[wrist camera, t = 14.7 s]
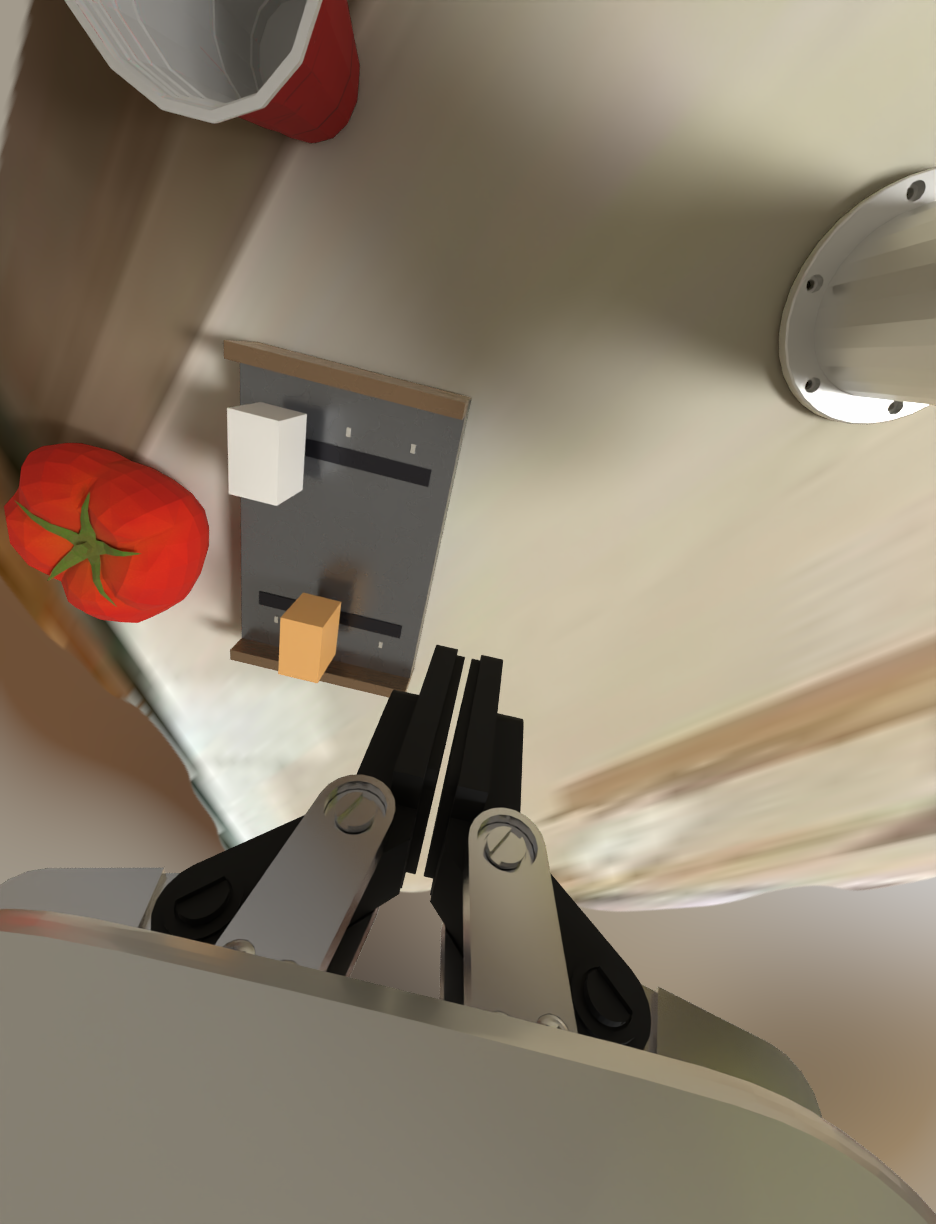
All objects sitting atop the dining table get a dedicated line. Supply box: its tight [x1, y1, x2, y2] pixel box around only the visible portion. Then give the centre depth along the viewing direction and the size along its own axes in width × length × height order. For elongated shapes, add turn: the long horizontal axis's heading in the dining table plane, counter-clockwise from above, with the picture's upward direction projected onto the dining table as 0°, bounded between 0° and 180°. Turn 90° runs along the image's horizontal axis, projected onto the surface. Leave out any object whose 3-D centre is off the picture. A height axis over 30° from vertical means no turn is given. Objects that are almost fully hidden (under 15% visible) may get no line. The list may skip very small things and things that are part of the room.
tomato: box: [4, 443, 209, 623], centre depth 35 cm, size 14×13×9 cm
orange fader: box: [278, 593, 341, 683], centre depth 36 cm, size 3×5×5 cm, turn 167°
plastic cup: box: [64, 0, 360, 143], centre depth 21 cm, size 11×11×12 cm
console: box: [224, 340, 471, 697], centre depth 36 cm, size 15×24×4 cm, turn 167°
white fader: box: [227, 402, 307, 506], centre depth 30 cm, size 3×5×5 cm, turn 167°
